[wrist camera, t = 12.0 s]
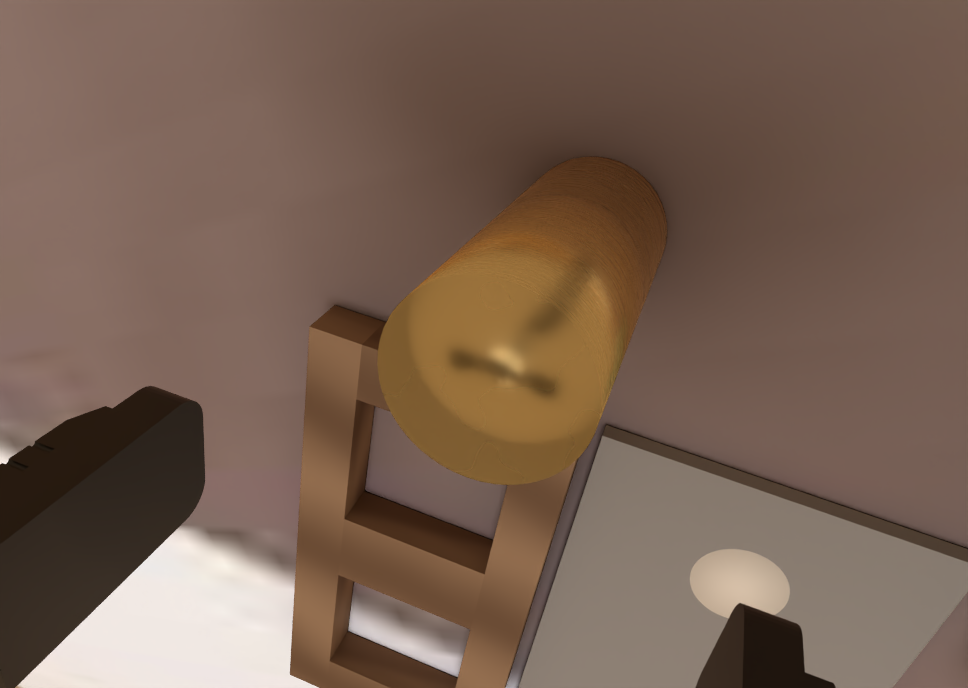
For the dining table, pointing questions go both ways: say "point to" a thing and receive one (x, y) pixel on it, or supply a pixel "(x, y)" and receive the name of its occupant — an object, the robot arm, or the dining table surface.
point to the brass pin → (526, 326)
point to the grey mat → (730, 576)
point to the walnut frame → (398, 538)
